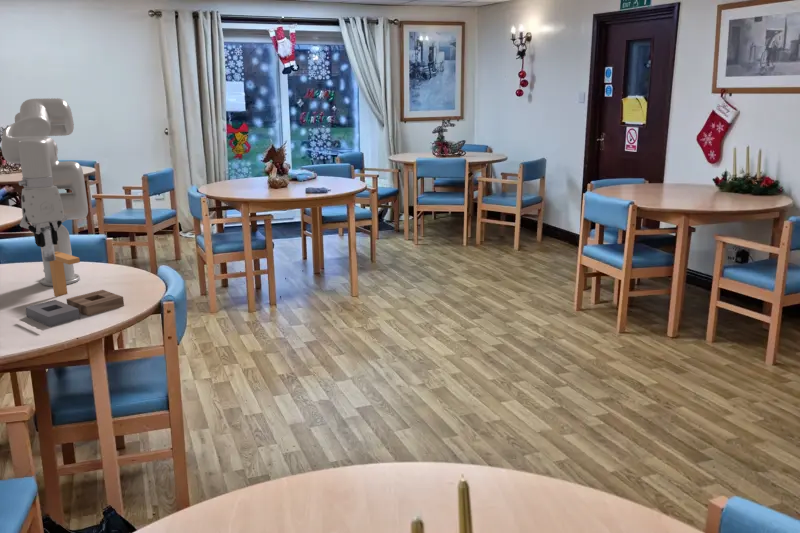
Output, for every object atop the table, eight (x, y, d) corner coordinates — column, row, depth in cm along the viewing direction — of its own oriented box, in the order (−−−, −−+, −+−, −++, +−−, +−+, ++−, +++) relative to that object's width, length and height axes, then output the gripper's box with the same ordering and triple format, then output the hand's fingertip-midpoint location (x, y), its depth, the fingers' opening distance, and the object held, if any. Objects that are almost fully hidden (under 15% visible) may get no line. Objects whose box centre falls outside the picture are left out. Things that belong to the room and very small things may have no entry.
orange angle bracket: (53, 296, 227) (47, 253, 223) (63, 293, 230) (58, 251, 226) (74, 304, 219) (68, 260, 215) (85, 301, 222) (79, 257, 218)
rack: (27, 319, 206) (25, 307, 205) (56, 311, 213) (55, 299, 212) (50, 329, 198) (48, 316, 197) (80, 321, 205) (78, 308, 204)
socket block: (68, 311, 214) (66, 298, 212) (103, 301, 223) (102, 289, 222) (88, 319, 207) (86, 306, 205) (124, 308, 216) (123, 296, 215)
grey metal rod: (41, 260, 201) (36, 227, 198) (52, 258, 203) (47, 225, 200) (46, 262, 199) (42, 228, 196) (57, 259, 201) (53, 226, 199)
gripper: (15, 187, 186) (25, 252, 191) (73, 180, 199) (80, 241, 204) (2, 185, 191) (12, 248, 196) (59, 178, 203) (67, 238, 208)
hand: (47, 244), depth 200 cm, fingers closed on grey metal rod, 3 cm apart
